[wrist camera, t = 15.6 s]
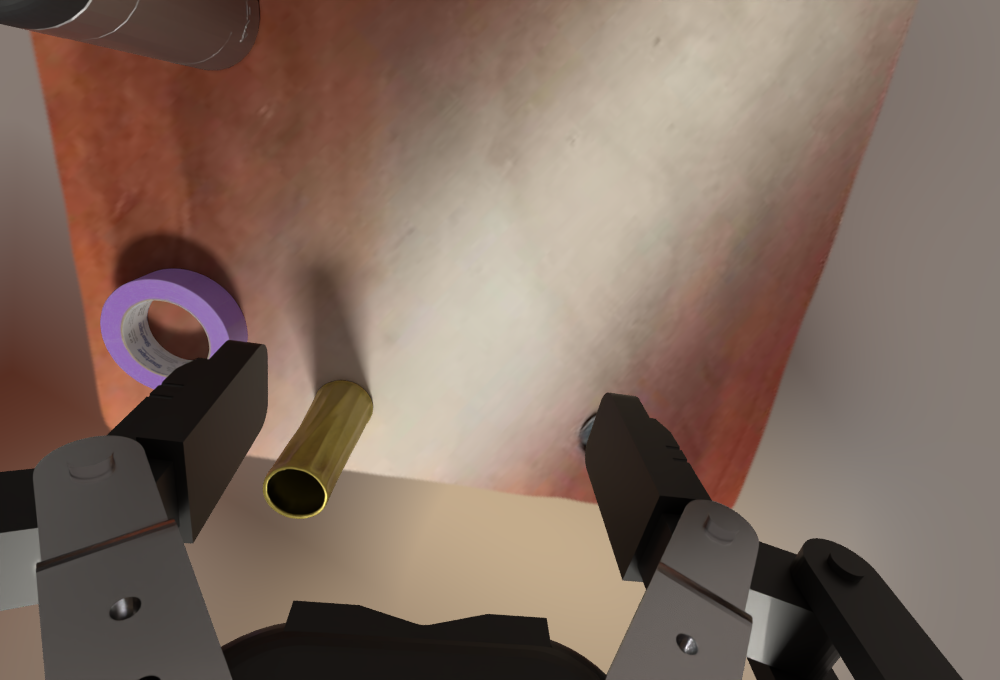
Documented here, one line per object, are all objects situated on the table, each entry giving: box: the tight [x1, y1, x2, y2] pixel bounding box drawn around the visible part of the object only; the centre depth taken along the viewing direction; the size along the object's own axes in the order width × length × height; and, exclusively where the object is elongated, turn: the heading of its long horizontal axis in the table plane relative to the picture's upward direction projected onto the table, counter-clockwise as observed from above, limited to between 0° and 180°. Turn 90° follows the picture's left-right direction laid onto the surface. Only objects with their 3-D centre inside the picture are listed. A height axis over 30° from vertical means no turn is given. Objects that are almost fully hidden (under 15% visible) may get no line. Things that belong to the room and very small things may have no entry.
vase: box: [263, 380, 373, 519], centre depth 47 cm, size 6×6×14 cm
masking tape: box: [100, 269, 248, 389], centre depth 48 cm, size 12×12×4 cm
